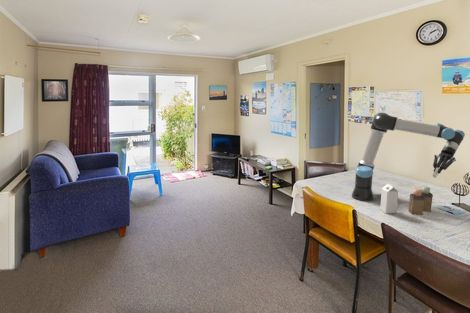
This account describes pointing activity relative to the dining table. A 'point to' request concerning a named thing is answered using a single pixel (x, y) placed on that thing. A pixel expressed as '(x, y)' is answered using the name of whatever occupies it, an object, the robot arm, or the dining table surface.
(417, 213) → the front pedestal
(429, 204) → the rear pedestal
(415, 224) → the dining table surface
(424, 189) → the sage button
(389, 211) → the milk carton
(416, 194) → the terracotta button
